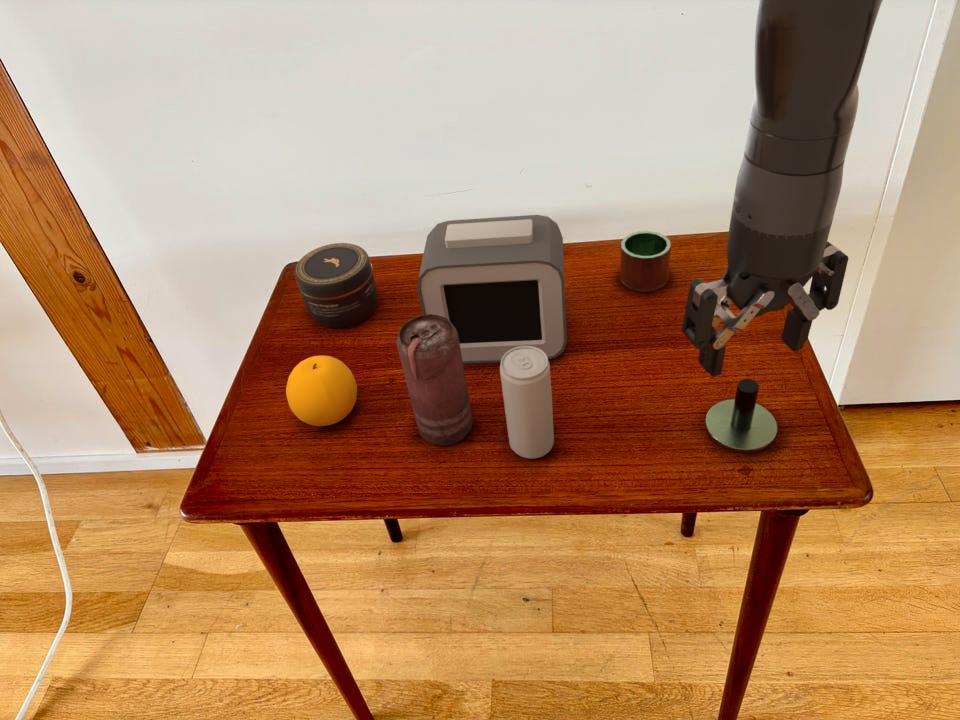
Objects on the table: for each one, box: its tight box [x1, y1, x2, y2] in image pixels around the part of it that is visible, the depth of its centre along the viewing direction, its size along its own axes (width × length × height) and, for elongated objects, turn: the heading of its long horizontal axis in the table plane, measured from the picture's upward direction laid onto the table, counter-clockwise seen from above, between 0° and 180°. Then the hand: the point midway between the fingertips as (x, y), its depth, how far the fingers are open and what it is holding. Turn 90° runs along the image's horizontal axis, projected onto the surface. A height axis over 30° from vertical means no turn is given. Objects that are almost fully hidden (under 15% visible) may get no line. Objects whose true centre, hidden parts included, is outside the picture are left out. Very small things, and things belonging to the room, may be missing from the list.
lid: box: [704, 378, 778, 453], centre depth 72 cm, size 7×7×7 cm
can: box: [396, 314, 474, 447], centre depth 74 cm, size 6×6×14 cm
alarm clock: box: [416, 214, 568, 365], centre depth 85 cm, size 16×11×16 cm
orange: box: [285, 355, 358, 427], centre depth 80 cm, size 8×8×8 cm
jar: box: [294, 242, 378, 329], centre depth 95 cm, size 10×10×8 cm
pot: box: [619, 230, 672, 293], centre depth 93 cm, size 6×6×5 cm
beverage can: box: [499, 346, 555, 460], centre depth 72 cm, size 5×5×12 cm
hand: (751, 357), depth 67 cm, fingers open, 8 cm apart
